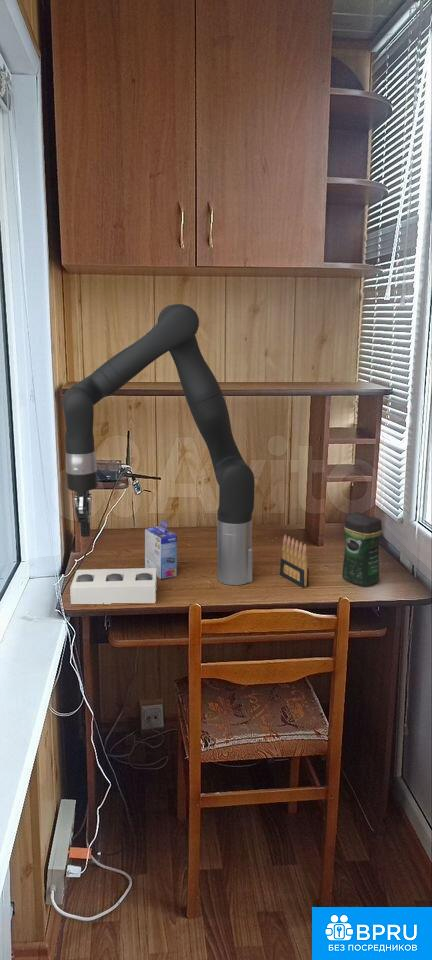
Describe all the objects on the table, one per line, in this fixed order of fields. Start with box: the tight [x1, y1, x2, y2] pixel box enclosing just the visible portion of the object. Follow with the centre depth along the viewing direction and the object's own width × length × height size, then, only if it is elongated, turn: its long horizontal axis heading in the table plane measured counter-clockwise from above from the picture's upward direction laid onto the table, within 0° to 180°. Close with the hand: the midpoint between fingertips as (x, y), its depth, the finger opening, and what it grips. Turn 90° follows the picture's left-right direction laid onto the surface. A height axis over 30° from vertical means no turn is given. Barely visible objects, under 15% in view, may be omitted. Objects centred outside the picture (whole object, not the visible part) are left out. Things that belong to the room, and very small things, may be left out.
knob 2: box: [137, 573, 151, 580], centre depth 182 cm, size 4×4×4 cm
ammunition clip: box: [279, 533, 310, 589], centre depth 190 cm, size 11×2×12 cm, turn 30°
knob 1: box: [78, 574, 93, 582], centre depth 181 cm, size 4×4×4 cm
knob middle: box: [108, 574, 122, 581], centre depth 181 cm, size 4×4×4 cm
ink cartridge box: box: [144, 520, 178, 580], centre depth 195 cm, size 10×6×14 cm, turn 33°
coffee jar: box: [342, 511, 383, 587], centre depth 189 cm, size 10×8×19 cm
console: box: [69, 567, 158, 605], centre depth 181 cm, size 21×12×5 cm, turn 93°
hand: (85, 535), depth 179 cm, fingers closed
